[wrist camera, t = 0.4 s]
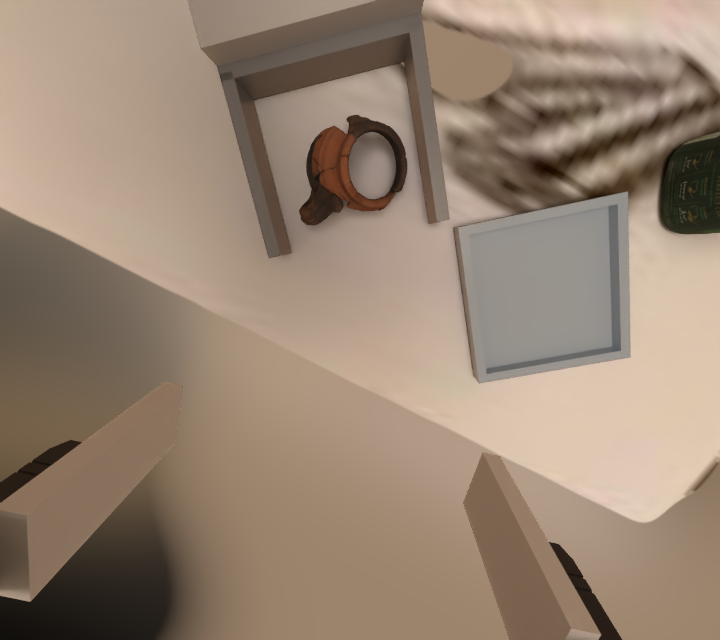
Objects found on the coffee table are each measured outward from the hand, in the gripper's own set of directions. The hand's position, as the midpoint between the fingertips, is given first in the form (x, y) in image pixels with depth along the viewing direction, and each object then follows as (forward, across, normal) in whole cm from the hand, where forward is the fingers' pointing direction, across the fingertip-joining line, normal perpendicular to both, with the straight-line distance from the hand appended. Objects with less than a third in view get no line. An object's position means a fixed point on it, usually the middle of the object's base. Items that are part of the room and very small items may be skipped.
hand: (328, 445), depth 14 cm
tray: (+26, +20, +7) cm, 34 cm away
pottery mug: (+27, -4, +14) cm, 30 cm away
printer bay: (+27, -6, +18) cm, 33 cm away
